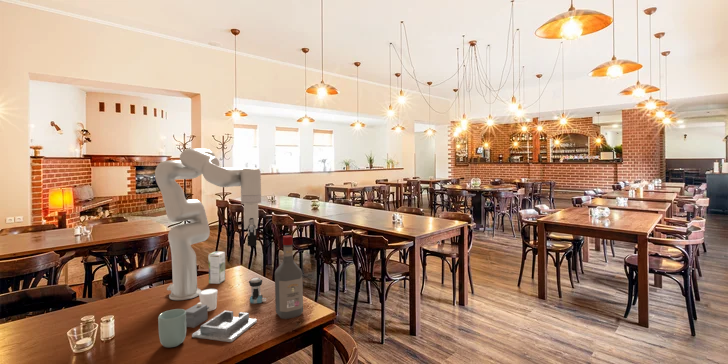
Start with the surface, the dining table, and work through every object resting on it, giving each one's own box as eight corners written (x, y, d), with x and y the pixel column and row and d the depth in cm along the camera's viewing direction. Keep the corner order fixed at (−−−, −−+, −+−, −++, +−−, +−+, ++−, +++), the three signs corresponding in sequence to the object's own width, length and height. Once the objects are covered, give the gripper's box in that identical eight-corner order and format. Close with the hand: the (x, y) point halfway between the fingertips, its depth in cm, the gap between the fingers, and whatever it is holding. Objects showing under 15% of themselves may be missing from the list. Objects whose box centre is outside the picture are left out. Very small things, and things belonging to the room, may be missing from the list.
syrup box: (214, 279, 175) (213, 251, 175) (226, 280, 175) (225, 251, 174) (208, 283, 170) (207, 254, 169) (220, 283, 169) (219, 254, 168)
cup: (166, 339, 115) (165, 309, 115) (191, 337, 116) (190, 308, 115) (154, 351, 107) (153, 319, 107) (180, 350, 108) (179, 318, 108)
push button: (267, 299, 148) (266, 276, 148) (264, 304, 143) (263, 280, 142) (251, 300, 148) (250, 277, 147) (248, 305, 143) (247, 281, 142)
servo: (181, 327, 123) (180, 309, 123) (199, 317, 132) (198, 300, 132) (192, 329, 122) (191, 311, 122) (209, 318, 131) (208, 301, 131)
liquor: (305, 315, 132) (303, 236, 131) (281, 320, 128) (279, 239, 126) (296, 306, 140) (295, 233, 139) (274, 312, 135) (272, 235, 134)
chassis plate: (192, 337, 116) (191, 326, 116) (221, 317, 131) (220, 308, 131) (231, 342, 113) (230, 331, 112) (256, 321, 127) (256, 312, 127)
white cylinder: (221, 306, 142) (221, 289, 141) (209, 313, 135) (208, 295, 135) (208, 304, 144) (207, 287, 144) (195, 310, 138) (194, 293, 137)
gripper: (242, 198, 143) (243, 239, 144) (239, 202, 127) (241, 248, 127) (261, 197, 145) (262, 237, 146) (261, 201, 129) (262, 247, 130)
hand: (252, 242), depth 137 cm, fingers open, 9 cm apart
